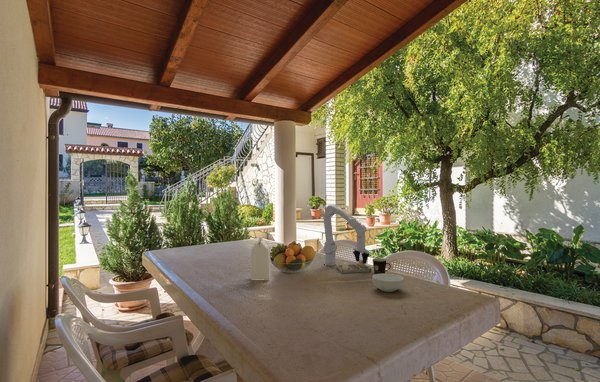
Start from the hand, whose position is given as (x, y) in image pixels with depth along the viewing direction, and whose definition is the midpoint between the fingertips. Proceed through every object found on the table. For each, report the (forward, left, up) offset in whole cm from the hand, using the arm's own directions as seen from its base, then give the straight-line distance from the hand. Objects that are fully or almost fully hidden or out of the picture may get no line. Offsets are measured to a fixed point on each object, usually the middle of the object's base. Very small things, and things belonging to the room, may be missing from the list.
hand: (361, 262), depth 227 cm
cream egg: (+7, -13, -4) cm, 15 cm away
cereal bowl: (+46, -2, -5) cm, 47 cm away
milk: (+7, -69, -5) cm, 69 cm away
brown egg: (0, 0, -4) cm, 4 cm away
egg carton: (+3, -7, -5) cm, 9 cm away
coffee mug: (+18, +6, -5) cm, 20 cm away
